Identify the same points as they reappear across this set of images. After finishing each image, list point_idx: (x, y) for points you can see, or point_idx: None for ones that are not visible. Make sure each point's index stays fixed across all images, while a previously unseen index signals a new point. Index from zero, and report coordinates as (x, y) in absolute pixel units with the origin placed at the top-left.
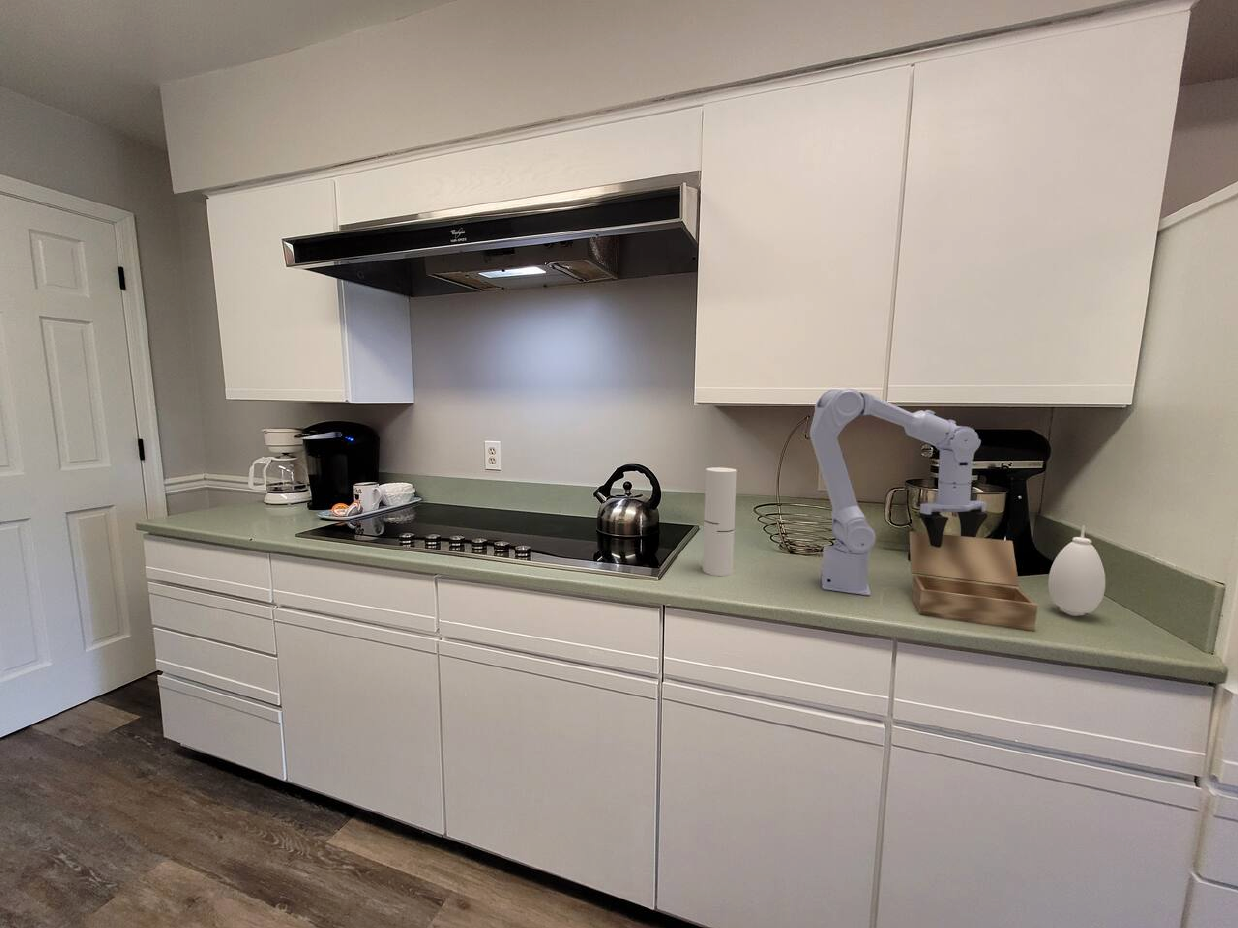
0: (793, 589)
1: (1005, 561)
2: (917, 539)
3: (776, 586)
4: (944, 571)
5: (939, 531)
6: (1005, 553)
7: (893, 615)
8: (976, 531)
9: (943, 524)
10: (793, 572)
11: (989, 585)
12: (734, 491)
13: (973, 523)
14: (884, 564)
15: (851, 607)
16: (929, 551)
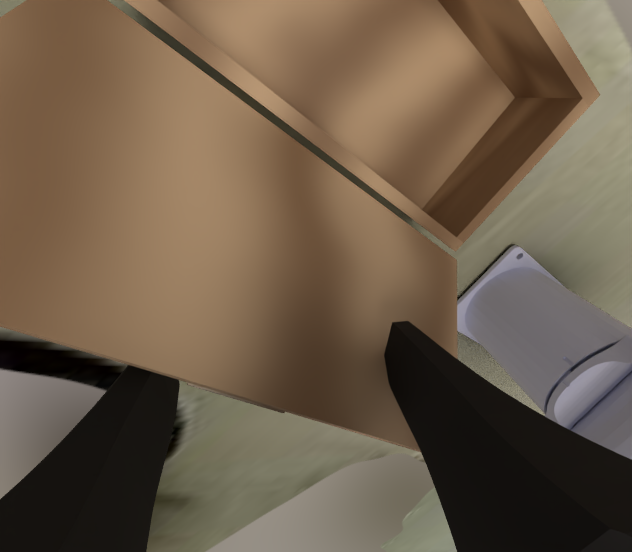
0: (617, 301)
1: (29, 107)
2: None
3: (628, 319)
4: (374, 219)
5: (502, 394)
6: None
7: (588, 110)
8: (89, 428)
9: (546, 451)
10: None
11: (241, 67)
12: None
13: (90, 529)
14: (275, 420)
15: (622, 187)
16: None
